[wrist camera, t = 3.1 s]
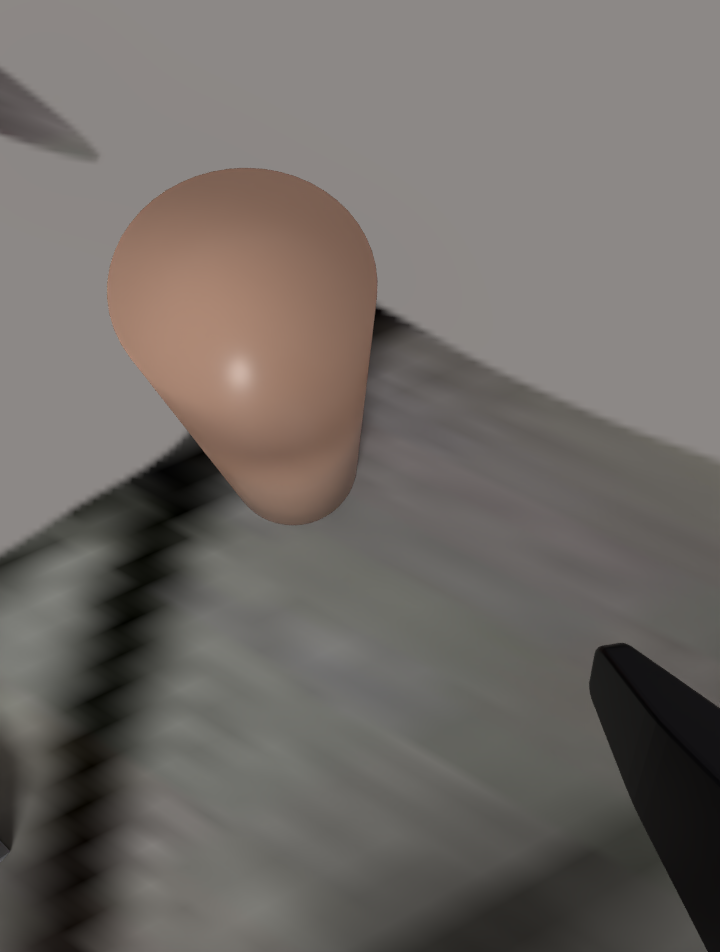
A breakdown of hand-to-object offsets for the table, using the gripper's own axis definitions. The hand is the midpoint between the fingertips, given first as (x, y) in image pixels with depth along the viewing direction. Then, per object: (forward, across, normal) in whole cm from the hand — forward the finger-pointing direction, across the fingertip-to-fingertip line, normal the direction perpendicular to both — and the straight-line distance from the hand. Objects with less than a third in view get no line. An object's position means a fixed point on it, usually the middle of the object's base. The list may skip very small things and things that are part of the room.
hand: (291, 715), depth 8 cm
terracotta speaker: (+14, 0, +4) cm, 15 cm away
